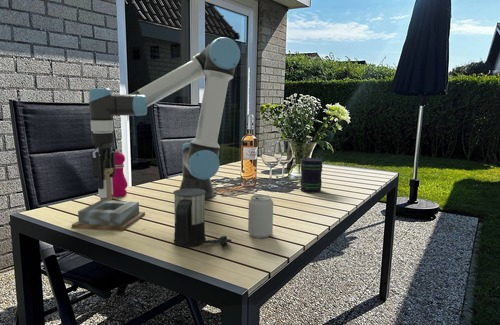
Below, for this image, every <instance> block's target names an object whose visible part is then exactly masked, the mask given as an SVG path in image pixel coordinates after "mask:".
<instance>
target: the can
mask: <svg viewBox="0 0 500 325" xmlns="http://www.w3.org/2000/svg"><path fill="white" fill-rule="evenodd" d="M247 217H248V220H247V223H248V224H247V226H248V228H247V230H248V231H247V233H248V235H250V236H251V237H253V238H258V239H265V238H268V237H270V236H271V235H272V234H274V233H273V232H274V231H273V230H274V228H273V227H274V225H273V224H274V223H273V222H274V201H273V200H272V197H271V196H270V195H267V194H254V195H252V196H250V200H249V201H248V216H247Z"/></svg>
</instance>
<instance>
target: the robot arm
mask: <svg viewBox="0 0 500 325" xmlns="http://www.w3.org/2000/svg"><path fill="white" fill-rule="evenodd" d="M240 59H241V50H240V47H239V45H238V44H237V43H236V42H235V41H234V40H233V39H232V38H229V37H224V36H223V37H217V38H215V39H214V40H212V42H211V43H209V44H208V45H206V47H204V49H203V50H201V51H200V52H199V53H197V54H196V55H194V56H192V58H191V60H190V61H188V62H187V63H184V64H183V65H181V66H179V67H177V68H176V69H173V70H171V71H170V72H168V73H166V74H164V75H163V76H161V77H159V78H157V79H155V80H154V81H152V82H150V83H148V84H147V85H144V86H143V87H141V88H139V89H137V90H135V91H132V93H130V94H114V93H113V92H112V90H111V88H104V87H103V88H101V87H100V88H98V87H97V88H95V87H94V88H91V89H89V90H88V96H89V97H88V106H89V117H90V123H89V124H90V131H91V135H90V136H91V143H92V144H94V145H95V148H94V151H91V152H90V156H91V157H90V158H91V165H92V176H93V180H95V181H97V188H98V198H100V197H101V198H106V197H107V190H106V180H104V177H105V175H104V171H105V168H113V173H111V174H110V186H111V194H113V184H112V177H115V175H113V174H115V153H116V152H115V150H116V148H115V147H112V144H113V143H114V142H115V133H114V128H115V127H114V117H115V116H116V117H117V116H127V117H128V116H130V117H132V116H135V117H140V116H146V115H147V113H148V107H150V106H151V105H153V104H155V103H157V102H158V101H159V102H160V101H161V100H163V99H164V98H166V97H168V96H169V95H172V94H173V93H175V92H177V91H179V90H181V89H182V88H184V87H186V86H188V85H189V84H191V83H194V82H195V81H196V80H198V79H200V78H202V79H205V83H204V89H203V90H204V91H203V95H202V100H201V107H200V111H199V118H198V122H197V128H196V132H195V133H196V134H195V138H193V139H192V140H190V142H186V143H183V144H182V148H181V149H182V150H181V154H182V156H181V157H182V179H181V183H180V186H179V189H188V188H192V189H202V190H205V191H206V193H205V200H206V199H211V198H212V197H214V196H215V190H214V186H213V183H212V181H211V178H213V177H214V176H215V175H216V174H217V173H218V171H219V169H220V158H219V156H220V151H221V150H220V149H221V146H220V145H219V143H218V141H219V140H218V139H219V134H220V129H221V123H222V118H223V112H224V108H225V101H226V96H227V92H228V87H229V86H228V85H229V82H230V81H231V80H233V79H234V76H235V70H236V67H237V65H238V64H239V62H240Z"/></svg>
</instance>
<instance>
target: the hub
mask: <svg viewBox="0 0 500 325" xmlns="http://www.w3.org/2000/svg"><path fill="white" fill-rule="evenodd" d="M77 215H78V216H77V217H78V219H77V220H78V221H75V222H74V223H72V224H71V229H85V230H86V229H88V230H101V231H102V230H105V231H120V232H123V231H125V230H126V229H127V228H129V227H130V226H132V225H133V224H134V223H136V222H137V221H139V220H140V219H141V218H142V217H144V216H145V215H146V212H145V211H140V202H139V201H128V200H127V201H124V200H112V201H107V200H101V199H100V200H99V201H97V202H94V203H92V204H91V205H88V206H86V207H84V208H82V209H80V210H78V211H77Z"/></svg>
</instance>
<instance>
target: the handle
mask: <svg viewBox="0 0 500 325" xmlns="http://www.w3.org/2000/svg"><path fill="white" fill-rule="evenodd" d="M111 173H113V168H105V171H104V175H105V177H104V180H106V190H107V197H106V198H101V197H99V200H100V201H101V200H107V201H113V196H112V194H111V186H110V174H111Z"/></svg>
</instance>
